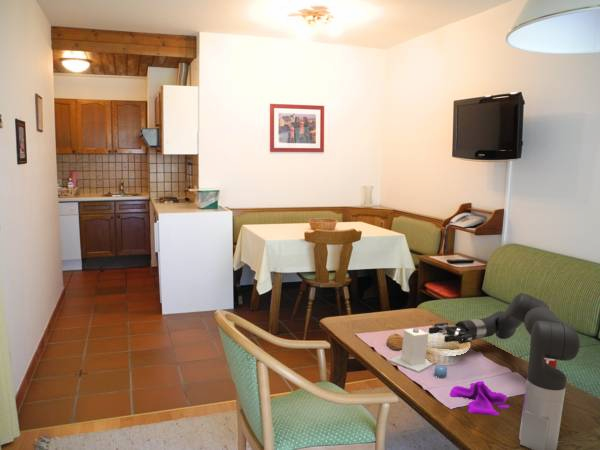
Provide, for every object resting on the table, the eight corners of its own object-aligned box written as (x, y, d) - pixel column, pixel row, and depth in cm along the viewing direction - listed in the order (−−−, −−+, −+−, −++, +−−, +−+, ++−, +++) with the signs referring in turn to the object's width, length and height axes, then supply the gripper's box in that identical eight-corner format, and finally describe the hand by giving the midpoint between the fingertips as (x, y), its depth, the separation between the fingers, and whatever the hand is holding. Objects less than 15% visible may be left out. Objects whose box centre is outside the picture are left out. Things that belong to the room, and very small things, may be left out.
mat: (418, 372, 177) (418, 371, 176) (389, 361, 185) (389, 360, 185) (436, 363, 185) (436, 362, 185) (407, 352, 193) (407, 351, 193)
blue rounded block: (442, 379, 173) (443, 371, 172) (432, 375, 175) (432, 367, 175) (448, 376, 175) (449, 367, 175) (437, 372, 178) (438, 363, 178)
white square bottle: (425, 363, 183) (428, 331, 182) (411, 365, 181) (414, 332, 179) (414, 356, 189) (417, 325, 187) (401, 358, 186) (404, 327, 184)
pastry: (405, 352, 194) (405, 342, 194) (387, 350, 195) (387, 340, 195) (403, 343, 204) (404, 333, 203) (386, 341, 204) (386, 332, 204)
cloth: (482, 422, 148) (484, 402, 147) (435, 393, 164) (437, 375, 163) (533, 406, 158) (535, 387, 157) (485, 381, 174) (487, 363, 173)
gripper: (458, 314, 201) (425, 318, 194) (485, 326, 188) (451, 332, 181) (456, 332, 202) (423, 337, 195) (483, 346, 190) (449, 352, 183)
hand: (437, 335), depth 188 cm, fingers open, 8 cm apart
